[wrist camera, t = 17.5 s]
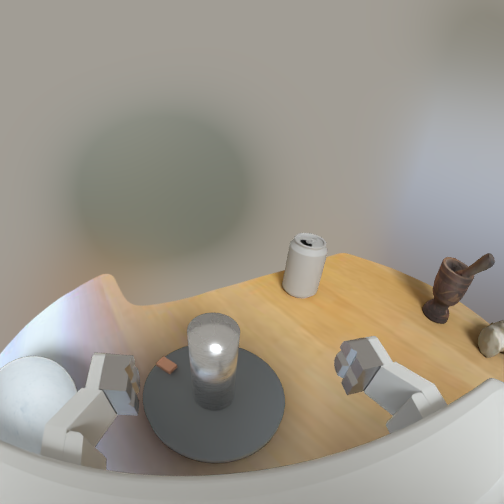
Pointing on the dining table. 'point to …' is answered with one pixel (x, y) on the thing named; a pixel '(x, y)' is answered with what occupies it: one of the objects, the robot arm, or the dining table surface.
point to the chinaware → (31, 399)
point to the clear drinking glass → (213, 359)
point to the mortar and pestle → (453, 285)
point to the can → (304, 265)
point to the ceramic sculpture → (492, 339)
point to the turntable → (213, 422)
